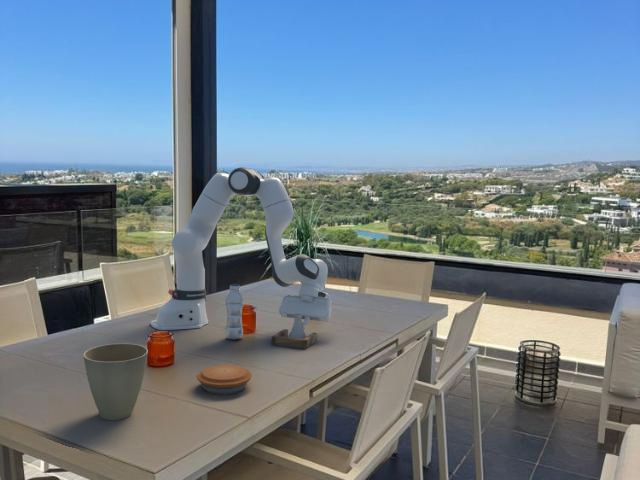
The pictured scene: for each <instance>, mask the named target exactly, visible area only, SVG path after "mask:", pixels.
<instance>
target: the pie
mask: <svg viewBox="0 0 640 480" xmlns="http://www.w3.org/2000/svg"><path fill="white" fill-rule="evenodd" d="M252 376H253V375H252V372H251V371H250V370H249V369H246V368H245V367H244V368H243V367H242V366H238V365H232V364H220V365H214V366H209V367H207V368H205V369H203V370H200V372H198V373H197V374H196V380H197V381H198V382H199V383H200V385H201V386H202V388H203V389H204V390H205V391H206V392H208V393H210V394H214V395H231V394H237V393H240V392H241V391H243V390H244V389H245V387H246V386H247V384H248V382H249V381H250V380H251V378H252Z"/></svg>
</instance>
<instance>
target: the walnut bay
mask: <svg viewBox="0 0 640 480" xmlns="http://www.w3.org/2000/svg"><path fill="white" fill-rule="evenodd" d="M317 335H318V333H317V332H311V333H310V334H309V335H307V336H306V338H304V339H298V338H290V337H289V329H286V328H284V329H282V330H280V331H279V332H277V333H275V334H274V335H272V336H271V345H273V346H280V347H286V348H295V349H302V350H306V349H308V348H309V347H311V346H312V345H313V344H315V343H316V342H317V340H318V339H317Z"/></svg>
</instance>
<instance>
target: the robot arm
mask: <svg viewBox="0 0 640 480" xmlns="http://www.w3.org/2000/svg"><path fill="white" fill-rule="evenodd" d="M235 195H238V196H242V197H251V198H252V197H257V198H258V199H259V201H260V204H261V206H262V210H263V213H264V217H265V227H264V234H265V235H264V236H265V242H266V244H267V250H268V255H269V258H270V263H271V264H270V265H271V275H272V278H273V281H274V282H275V283H276V284H278V285H279V286H280V287H283V288H287V287H290V286H291V285H293V284H296V283H298V282H299V283H301V285H300V288H299V291H298V295H292V294H287V295H285V296H284V297H283V298H282V301H281V303H280V305H279V307H278V313H279V316H280V317H281V318H289V319H294V318H295V316H294V314H302V315H303V316H302V320H304V321H302V326H303V329H304V330H305V328H306V326H307V325H308V324H309V323H310V322H311V321H317V322H323V323H325V322H326V323H328V322H329V321H330V320H331V318H332V313H333V312H332V311H333V309H332V304H333V303H332V299H331V296H330V295H329V293H326V292H324V291H323V290H324V287H325V286H326V282H327V280H328V279H327V278H328V276H329V275H328V273H329V269H328V265H327V263H326V262H325V261H323V260H322V259H319V258H311V257H310V256H308V255H307V254H305V253H300V254H297V255H295V256H293V257H291V258H288V259H287V258H286V255H285V252H284V251H285V250H284V247H283V241H282V238H283V234H284V232H285V230H286V229H287V228H288V227H289V226H290V224H291V223H292V221H293V219H294V213H295V211H294V208H293V204H292V201H291V199H290V196H289V194H288V192H287V189H286V188H285V186H284V184H283V182H282V181H281V179H280V178H278V177H275V176H269V177H266V178H265V177H264V175H263V174H262V173H260V172H259V171H257V170H255V169H253V168H250V167H243V166H240V167H237V168H235V169H233V170H231V171H230V173H229V174H228V173H227V172H217V173H215V174H214V175H213V176H212V177H211V179H210V180H209V181H208V182H207V184H206V185H205V187H204V188H203V190H202V192H201V194H200V195H199V197H198V199H197V201H196V203H195V205H194V206H193V208H192V210H191V211H192V212H191V214H190V216H189V219H188V222H187V223H186V226H185V227H184V228H182V229H180V230H178V231H177V232H176V233H175V235H174V236H173V238H172V242H171V246H172V250H173V254H174V261H175V269H176V288H175V289H174V290H173V289H172V288H171V289H170V288H169V289H168V290H167V293H168V294H169V295H171V298H170V299H169V300H168V301H167V302H166V303H164V304H163V305H162V306H160V307H159V308H158V310H157V313H156V314H157V315H156V319H154V320H151V322H150V325H151V327H152V328H153V329H156V330H159V331H172V330H173V331H174V330H176V331H177V330H188V329H189V330H190V329H191V330H192V329H200V328H202V327H203V326H205V325H207V324H209V320H208V319H209V318H208V315H207V310H206V300H207V289H206V287H205V286H206V283H205V282H206V279H205V278H206V272H205V271H206V269H205V266H204V265H205V264H204V257H203V251H204V250H205V249H206V247H207V246H208V244H209V241H210V240H211V238H212V235H213V233H214V232H215V230H216V227H217V225H218V223H219V221H220V220H221V217H222V216H223V214H224V212H225V210H226V208H227V207H228V205H229V203H230V201H231V199H232V198H233V197H234V196H235Z"/></svg>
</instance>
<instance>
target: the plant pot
mask: <svg viewBox="0 0 640 480" xmlns="http://www.w3.org/2000/svg"><path fill="white" fill-rule="evenodd" d="M148 353H149V350H148V348H147V347H146V346H144V345H141V344H135V343H126V342H124V343H123V342H121V343H108V344H102V345H98V346H95V347H91V348H89V349H87V350H85V351H84V352H83V363H84V367H85V373H86V377H87V381H88V385H89V388H90V389H89V390H90V391H91V395H92V399H93V401H94V404H95V406H96V408H97V411H98V413H99V417H101V419H104V420H108V421H118V420H123V419H126V418H129V416H131V415H132V414H133V411H134V409H135V407H136V403H137V402H138V401H137V400H138V397H139V394H140V391H141V388H142V384H143V382H144V381H143V380H144V376H145V372H146V367H147V359H148Z"/></svg>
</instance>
